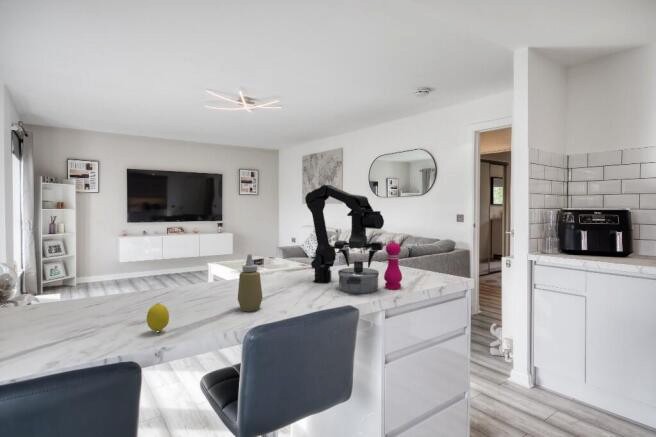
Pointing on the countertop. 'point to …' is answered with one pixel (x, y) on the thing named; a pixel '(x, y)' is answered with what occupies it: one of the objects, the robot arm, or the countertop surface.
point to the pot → (358, 285)
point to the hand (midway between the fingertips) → (358, 266)
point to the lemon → (157, 317)
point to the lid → (358, 271)
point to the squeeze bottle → (249, 287)
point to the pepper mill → (393, 266)
